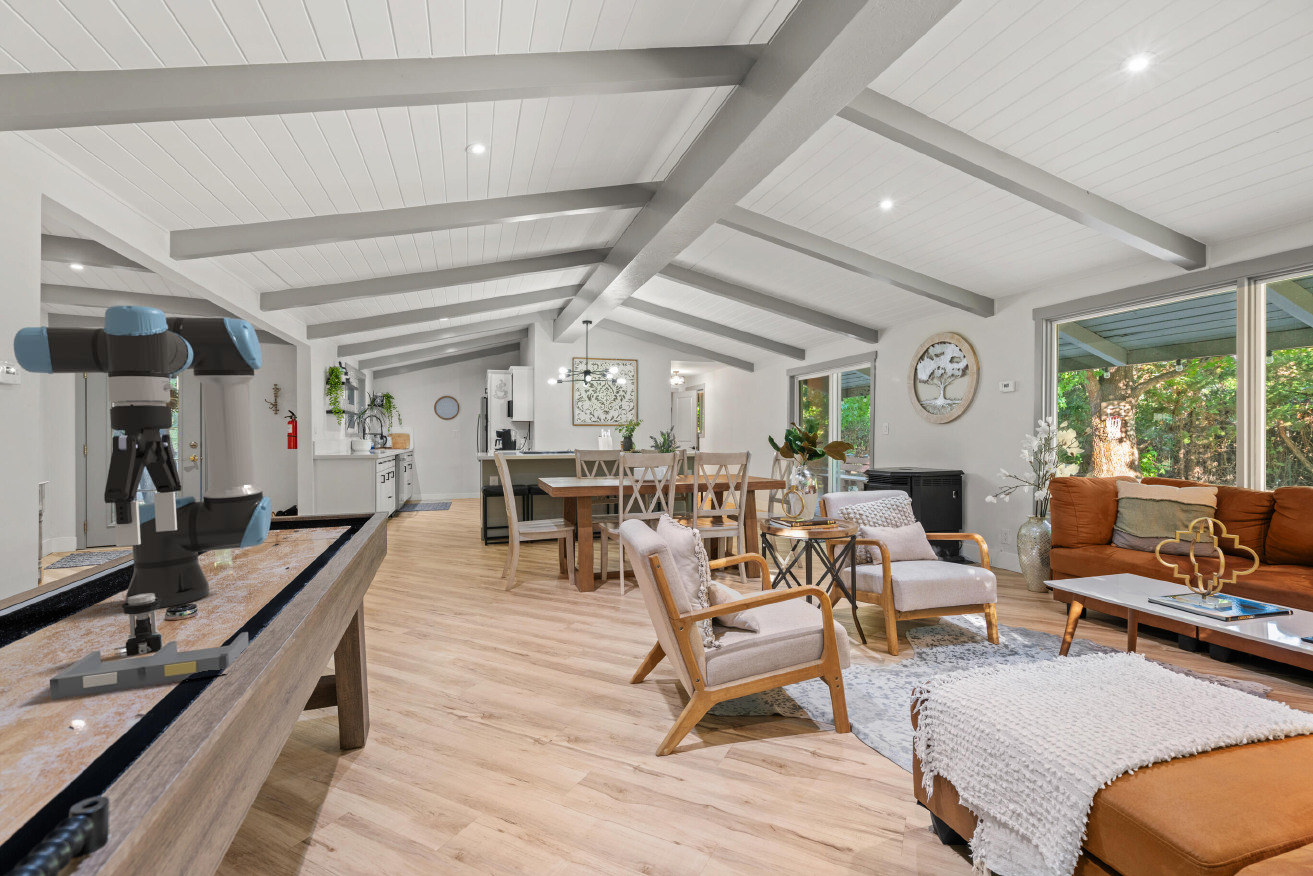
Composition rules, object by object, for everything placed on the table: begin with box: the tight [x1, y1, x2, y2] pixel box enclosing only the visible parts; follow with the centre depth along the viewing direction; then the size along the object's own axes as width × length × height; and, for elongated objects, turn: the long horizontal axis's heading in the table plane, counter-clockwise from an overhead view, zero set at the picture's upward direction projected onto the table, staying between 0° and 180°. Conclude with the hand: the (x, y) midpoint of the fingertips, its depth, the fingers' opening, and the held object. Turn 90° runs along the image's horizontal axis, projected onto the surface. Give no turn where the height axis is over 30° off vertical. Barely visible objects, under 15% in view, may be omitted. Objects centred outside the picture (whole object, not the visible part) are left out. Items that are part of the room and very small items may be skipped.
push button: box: [113, 593, 163, 657], centre depth 109 cm, size 7×5×10 cm
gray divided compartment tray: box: [49, 631, 250, 701], centre depth 100 cm, size 12×22×3 cm, turn 110°
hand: (148, 537), depth 99 cm, fingers open, 13 cm apart
